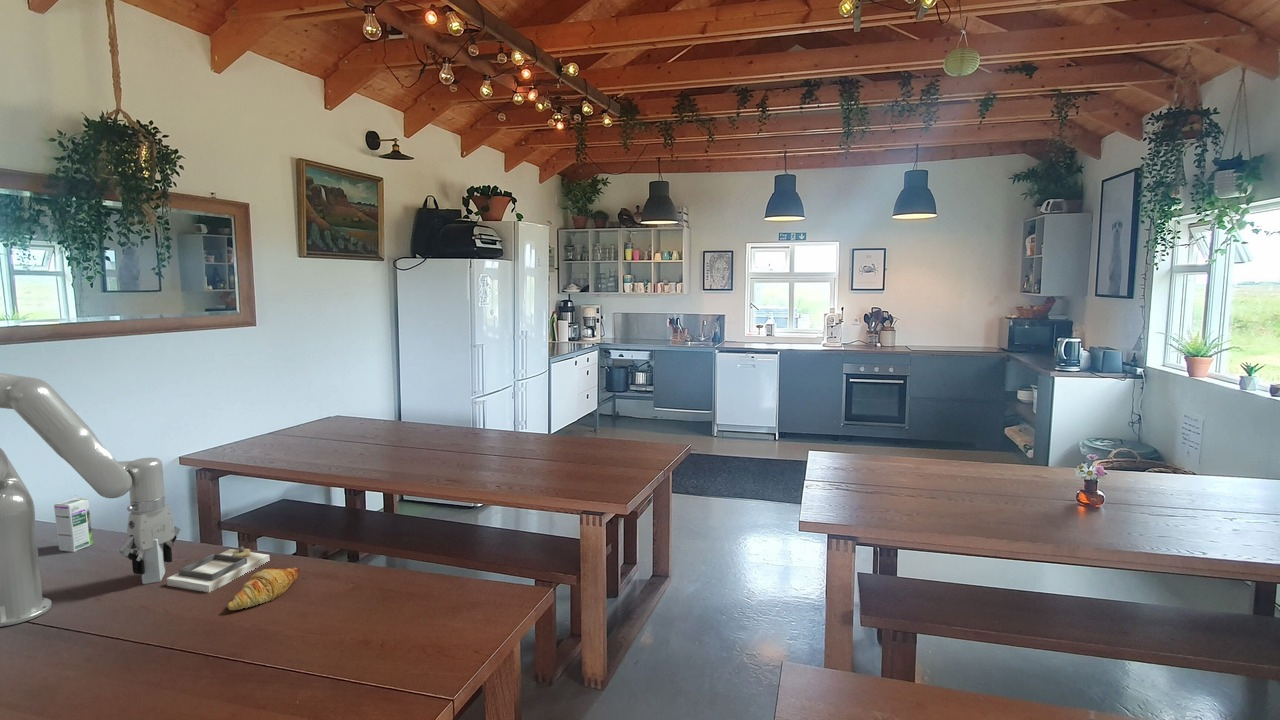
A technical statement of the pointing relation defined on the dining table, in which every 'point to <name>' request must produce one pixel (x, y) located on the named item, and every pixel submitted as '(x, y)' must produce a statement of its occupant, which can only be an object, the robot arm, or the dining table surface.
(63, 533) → the syrup box
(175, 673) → the dining table surface
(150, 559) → the skincare box
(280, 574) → the croissant
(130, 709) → the dining table surface
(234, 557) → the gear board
